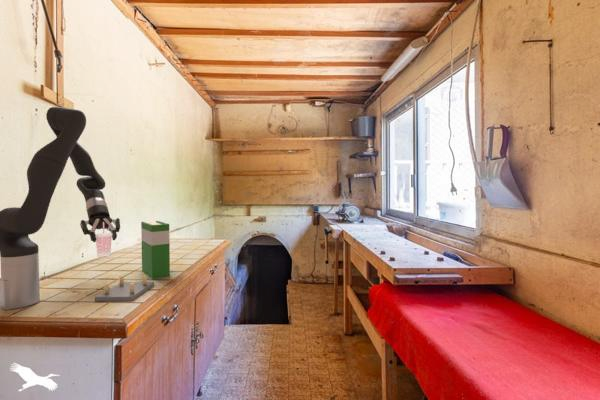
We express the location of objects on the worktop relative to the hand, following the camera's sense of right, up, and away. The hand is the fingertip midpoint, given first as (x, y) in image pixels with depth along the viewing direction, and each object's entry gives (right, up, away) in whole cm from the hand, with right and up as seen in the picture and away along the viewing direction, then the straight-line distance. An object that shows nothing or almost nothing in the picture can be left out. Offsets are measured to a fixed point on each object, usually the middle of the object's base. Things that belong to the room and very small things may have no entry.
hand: (104, 239), depth 114 cm
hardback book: (+12, -19, +17) cm, 28 cm away
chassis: (+14, -19, -8) cm, 25 cm away
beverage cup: (-1, -7, +1) cm, 7 cm away
